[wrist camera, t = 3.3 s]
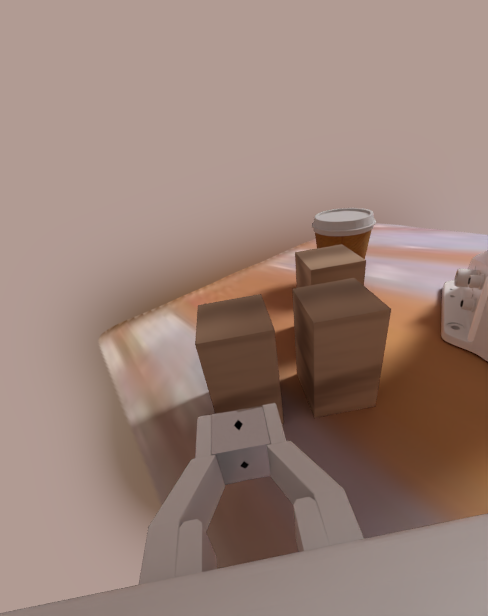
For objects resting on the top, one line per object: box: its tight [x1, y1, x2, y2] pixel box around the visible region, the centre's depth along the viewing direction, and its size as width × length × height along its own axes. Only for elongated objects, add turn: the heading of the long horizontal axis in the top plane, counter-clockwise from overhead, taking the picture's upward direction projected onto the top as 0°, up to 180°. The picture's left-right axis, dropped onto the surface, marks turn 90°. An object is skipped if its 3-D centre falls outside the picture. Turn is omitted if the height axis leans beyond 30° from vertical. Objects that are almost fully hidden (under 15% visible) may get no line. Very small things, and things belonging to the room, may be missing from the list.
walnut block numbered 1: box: [292, 278, 391, 418], centre depth 26 cm, size 6×6×11 cm
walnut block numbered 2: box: [295, 244, 366, 288], centre depth 34 cm, size 6×6×11 cm
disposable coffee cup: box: [312, 208, 376, 259], centre depth 45 cm, size 10×10×12 cm
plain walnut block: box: [195, 294, 284, 424], centre depth 25 cm, size 6×6×11 cm
